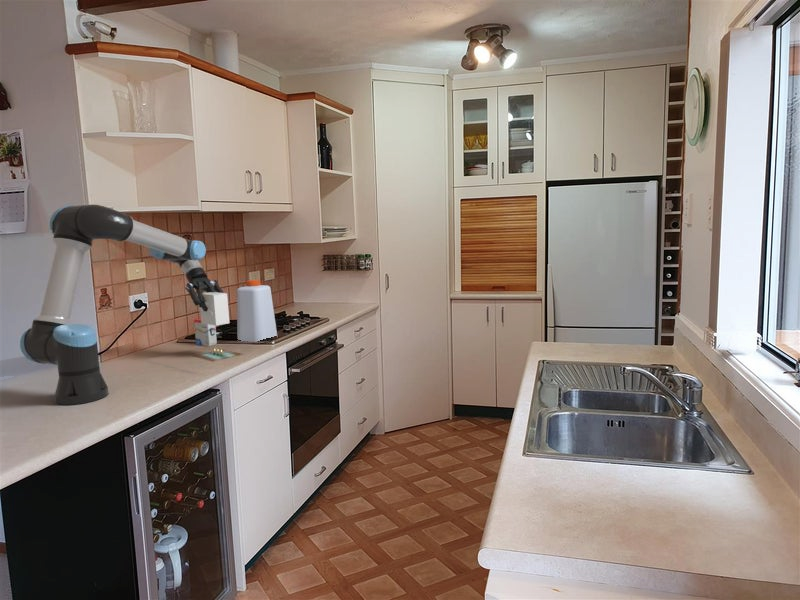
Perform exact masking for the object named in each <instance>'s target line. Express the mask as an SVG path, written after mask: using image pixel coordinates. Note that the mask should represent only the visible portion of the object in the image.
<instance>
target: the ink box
mask: <svg viewBox="0 0 800 600" xmlns="http://www.w3.org/2000/svg"><path fill="white" fill-rule="evenodd" d="M193 321H194V322H193V323H194V333H195V335H194V336H195V345H197V346H206V347H211V346H215V345H217V343H218V341H217V330H216V329H217V326H215V325H209V324H203V323H201V317H199V318H194V320H193Z"/></svg>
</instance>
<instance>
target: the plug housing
mask: <svg viewBox="0 0 800 600" xmlns="http://www.w3.org/2000/svg"><path fill="white" fill-rule="evenodd" d="M202 295H203V297H204V303H205V302H207V303H208V305H209V307H210V308H211V310H212V312H213V313H214V315H213V317H212V319H210V318H209V316H208V314H207V313H206V311H205V312H204V311H203V309H202V307H199V311H200V318H201V323H203V324H209V325H215V326H216V327H217V326H222V325H226V324H227V325H228V324H230V314H229V313H230V311H229V302H228V301H229V298H228V293H227V292H226V293H225V292H224V293H218V292H208V293H207V292H203V294H202Z"/></svg>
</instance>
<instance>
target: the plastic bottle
mask: <svg viewBox="0 0 800 600" xmlns="http://www.w3.org/2000/svg"><path fill="white" fill-rule="evenodd" d="M271 289H272V288H271V287H270V285H267V284H266V285H263V284H261V280H260V279H248V280H246V285H245V286H241V287H238V288H237V289H236V307H237V308H236V314H237V315H236V320H237V321H236V322H237V324H236V327H237V329H236V331H237V337H236V338H237V339H238V340H241V341H245V342H247V341H248V342H257V341H260V340H263V339H266V338H271V337H274V336H277V337H278V331H277V323H276V318H275V317H276V316H275V310H274V302H273V296H272V290H271ZM238 340H237V341H238Z"/></svg>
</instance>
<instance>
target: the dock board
mask: <svg viewBox="0 0 800 600" xmlns="http://www.w3.org/2000/svg"><path fill="white" fill-rule="evenodd" d="M220 350H222V353H223V356H220ZM242 355H244V353H241V352H236V351H232V350H226V349H223V348H222V349H219V355H217V353H216V354H215V355H213V351H209V352H204V353H200V354H195V355H192V357H194V358H196V359H197V358H198V359H200V360H201V359H202V360H206V361H210V362H217V361H220V360H221V361H222V360H226V359H229V358H233V357H239V356H242Z"/></svg>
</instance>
